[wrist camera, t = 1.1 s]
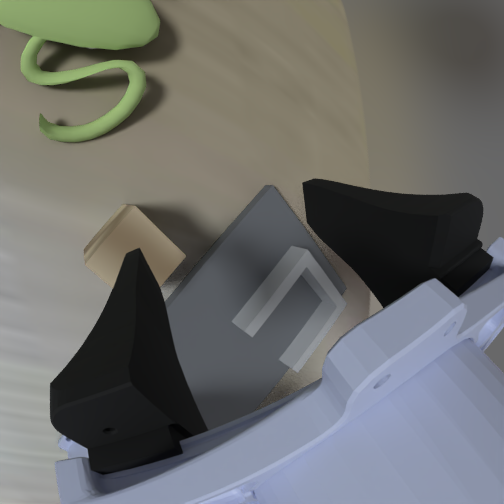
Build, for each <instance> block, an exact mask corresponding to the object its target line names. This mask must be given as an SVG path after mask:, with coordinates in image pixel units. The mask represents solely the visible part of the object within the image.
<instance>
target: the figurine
mask: <svg viewBox="0 0 504 504" xmlns="http://www.w3.org/2000/svg"><path fill="white" fill-rule="evenodd" d="M0 24H1V25H3V26H5V27H7V28H10V29H14V30H17V31H20V32H23V33H26V34H29V35H32V38H31V39H30V40H29V41H28V43H27V45H26V47H25V49H24V51H23V53H22V55H21V72H22V73H23V74H24V76H25V77H26V79H27V80H28V81H29V82H33V83H36V84H39V85H57V84H64V83H68V82H72V81H75V80H79V79H81V78H84V77H86V76H89V75H92V74H94V73H97V72H100V71H103V70H106V69H111V68H120V69H122V70H123V71H125V72H127V73H128V77H129V81H130V83H129V86H128V89H127V91H126V94H125V95H124V97H123V98H122V99H121V101H120V102H119V104H118V105H117V106H116V107H114V108H113V109H112V110H111V111H110V112H108V113H107V114H105V115H104V116H102V117H101V118H99V119H97V120H95V121H93V122H90V123H88V124H86V125H79V126H73V127H70V126H58V125H56V124H53V123H50V122H48V121H47V120H46V119H45V118H44V117H43V116H42V114H41V113H40V118H39V126H40V131H41V132H42V133H43V134H44V135H45V136H47V137H48V138H49V139H51V140H56V141H60V142H80V141H85V140H90V139H94V138H96V137H98V136H101V135H103V134H105V133H107V132H109V131H110V130H112V129H113V128H115V127H116V126H118V125H119V124H120V123H121V122H122V121H124V120H125V119H126V118H127V117H128V116H130V115H131V113H132V112H133V110H134V109H135V108H136V106H137V105H138V104H139V102H140V101H141V98H142V96H143V93H144V91H145V88H146V77H145V72H144V71H143V70H142V69H141V68H140V67H139V66H138V65H137V64H135V63H134V62H133V61H128V60H111V61H106V62H102V63H98V64H94V65H91V66H87V67H83V68H79V69H75V70H69V71H62V72H48V71H42V70H41V68H40V67H39V66H38V65H37V64H36V63H37V54H38V52H39V51H40V49H41V47H42V46H43V44H44V43H45V42H46V41H47V40H51V41H56V42H60V43H65V44H70V45H74V46H78V47H86V48H89V49H96V48H102V49H112V50H119V49H126V48H134V47H143V46H144V45H146V44H147V43H149V42H150V41H152V40H153V39H155V38H156V37H158V33H159V27H160V19H159V17H158V15H157V13H156V11H155V9H154V7H153V5H152V3H151V1H150V0H0Z"/></svg>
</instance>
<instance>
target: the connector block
mask: <svg viewBox="0 0 504 504" xmlns="http://www.w3.org/2000/svg"><path fill="white" fill-rule="evenodd" d="M139 247H140V249H141V251H142V253H143V255H144V257H145V259H146V261H147V263H148V265H149V267H150V269H151V271H152V273H153V274H154V276H155V278H156V280H157V282H158V284H159V286H160V287H161V286H162V284H163V283H164V282H165V281H166V280H167V278H168V277H169V276H170V275H171V274H172V272H173V271H174V270H175V269H176V268H177V267H178V265H179V264H180V263H181V262H182V261H183V259H184V258H185V257H186V255H185V254H184V253H183V252H182V251H181V250H180V249H179V248H178V247H177V246H176V245H175V244H174V243H173V242H172V241H171V240H170V239H168V238H167V237H166V236H165V235H164V234H163V233H162V232H161V231H160V230H159V229H158V228H157V227H156V226H155V225H154V224H153V223H152V222H151V221H150V220H149V219H148V218H147V217H146V216H145V215H144V214H143V213H142V212H141V211H140V210H139V209H138V208H137V207H136V206H133V205H125V204H123V205H122V206H121V207H120V208H119V209H118V210H117V211H116V212H115V213H114V214H113V216H112V217H111V218H110V219H109V220H108V221H107V222H106V224H105V225H104V226H103V227H102V228H101V229H100V231H99V232H98V233H97V234H96V235H95V236H94V238H93V239H92V240H91V241H90V242H89V244H88V245H87V246H86V247H85V249H84V259H85V265H86V266H87V267H88V268H89V269H90V270H91V271H93V272H94V273H95V274H96V275H97V276H98V277H100V278H101V279H102V280H103V281H104V282H105V283H107V284H108V285H109V286H110V287H111V288H113V287H114V284H115V282H116V279H117V276H118V274H119V271H120V268H121V265H122V262H123V260H124V257H125V255H126V253H128V252H130V251H133V250H135V249H137V248H139Z"/></svg>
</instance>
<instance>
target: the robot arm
mask: <svg viewBox="0 0 504 504" xmlns="http://www.w3.org/2000/svg"><path fill="white" fill-rule="evenodd" d="M302 184H303V192H304V201H305V209H306V218H307V223H308V224H309V226H310V227H311V228H312V229H313V231H314V232H315V233H316V234H317V235H318V237H319V238H320V239H321V240H322V241H323V242H324V243H325V244H327V245H328V246H329V247H330V248H331V249H332V250H333V251H334V252H335V253H336V254H337V255H338V256H340V257H341V258H342V259H343V260H344V261H345V262H346V263H347V264H348V265H349V266H350V267H351V268H352V269H353V270H354V271H355V272H356V273H357V274H358V275H359V276H360V278H361V279H362V280H363V281H364V282H365V284H366V285H367V286H368V287H369V289H370V290H371V291H372V293H373V294H374V295H375V297H376V298H377V299H378V301H379V302H380V303H381V305H382V306H383V309H382V310H380V311H379V312H377V313H375V314H374V315H372V316H370V317H369V318H367V319H366V320H364V321H362V322H361V323H359V324H357V325H356V326H354V327H353V328H352V329H351V330H349V331H348V332H347V333H345V334H344V335H343V336H341V337H340V338H339V339H338V341H337V342H336V343H335V344H334V345H333V347H332V348H331V349H330V350H329V351H328V353H327V356H326V359H325V361H324V364H323V368H322V378H320V379H319V380H317V381H315V382H313V383H311V384H309V385H307V386H306V387H304V388H302V389H300V390H298V391H296V392H294V393H292V394H290V395H288V396H286V397H284V398H282V399H280V400H278V401H276V402H274V403H272V404H270V405H267V406H265V407H263V408H261V409H259V410H257V411H254V412H252V413H250V414H248V415H245V416H243V417H241V418H238V419H236V420H234V421H231V422H229V423H227V424H224V425H222V426H219V427H217V428H214V429H211V430H208V428H207V426H206V424H205V422H204V420H203V418H202V416H201V414H200V411H199V409H198V407H197V405H196V403H195V400H194V398H193V396H192V393H191V391H190V388H189V386H188V383H187V381H186V378H185V376H184V373H183V371H182V368H181V365H180V363H179V360H178V357H177V353H176V350H175V346H174V341H173V337H172V332H171V328H170V323H169V318H168V314H167V309H166V305H165V301H164V298H163V295H162V292H161V289H160V286H159V284H158V282H157V280H156V278H155V276H154V274H153V273H152V271H151V269H150V267H149V265H148V263H147V261H146V259H145V257H144V255H143V253H142V251H141V249H140V247H139V248H137V249H135V250H133V251H130V252H128V253H126V255H125V257H124V260H123V262H122V265H121V268H120V271H119V274H118V276H117V279H116V282H115V284H114V287H113V289H112V292H111V294H110V296H109V299H108V301H107V303H106V305H105V308H104V310H103V312H102V313H101V315H100V317H99V319H98V321H97V323H96V324H95V326H94V328H93V329H92V331H91V332H90V334H89V336H88V337H87V339H86V340H85V342H84V343H83V345H82V346H81V348H80V349H79V350H78V352H77V353H76V354H75V356H74V357H73V358H72V360H71V361H70V362H69V363H68V364H67V366H66V367H65V368H64V369H63V370H62V371H61V372H60V374H59V375H58V376H57V377H56V378H55V379H54V380H53V381H52V382H51V383H50V419H51V423H52V425H53V426H54V428H55V429H56V430H57V431H59V432H60V433H61V434H62V437H61V438H60V439H59V441H58V446H59V447H60V448H61V449H63V450H65V451H67V452H68V459H66V460H60V461H56V462H55V470H56V477H57V484H58V491H59V496H60V502H61V504H504V373H503V372H502V371H501V370H500V369H499V368H498V367H497V366H496V365H495V364H494V363H493V362H492V361H491V359H490V358H489V357H488V356H487V355H486V354H484V351H485V350H486V348H487V347H488V346H489V345H490V344H491V342H492V341H493V340H494V339H495V337H496V336H497V335H498V334H499V332H500V331H501V330H502V329H503V327H504V239H503V238H502V237H499V238H498V239H497V240H496V241H494V242H493V243H492V244H491V245H490V246H489V247H488V249H487V251H484V250H483V249H482V248H481V247H482V242H481V241H479V240H478V239H477V237H478V233H479V230H480V226H481V222H482V217H483V205H482V202H481V200H480V199H478V198H477V197H475V196H473V195H472V194H469V193H459V194H447V195H413V194H400V193H392V192H384V191H378V190H372V189H367V188H362V187H357V186H353V185H348V184H343V183H339V182H334V181H329V180H323V179H312V180H309V181H306V182H303V183H302ZM68 438H69V439H68Z"/></svg>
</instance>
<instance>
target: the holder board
mask: <svg viewBox="0 0 504 504" xmlns="http://www.w3.org/2000/svg"><path fill="white" fill-rule="evenodd" d="M345 290H346V286H345V285H344V284H343V282H342V281H341V279H340V278H339V276H338V275H337V273H336V272H335V270H334V269H333V267H332V266H331V265H330V263H329V262H328V260H327V259H326V257H325V256H324V255H323V253H322V252H321V250H320V249H319V247H318V246H317V245H316V243H315V242H314V240H313V239H312V238H311V236H310V235H309V233H308V232H307V231H306V229H305V228H304V226H303V225H302V224H301V222H300V221H299V220H298V218H297V217H296V215H295V214H294V213H293V211H292V210H291V209H290V207H289V206H288V205H287V203H286V202H285V201H284V199H283V198H282V197H281V195H280V194H279V193H278V191H277V190H276V189H275V187H274V186H273V185H265V186H264V188H263V189H262V190H261V191H260V192H259V193H258V194H257V195H256V196H255V198H254V199H253V200H252V201H251V202H250V203H249V204H248V205H247V207H246V208H245V209H244V210H243V211H242V212H241V213H240V215H239V216H238V217H237V218H236V219H235V220H234V221H233V223H232V224H231V225H230V226H229V227H228V228H227V229H226V231H225V232H224V233H223V234H222V235H221V236H220V237H219V239H218V240H217V241H216V242H215V243H214V244H213V246H212V247H211V248H210V249H209V250H208V251H207V253H206V254H205V255H204V256H203V257H202V258H201V260H200V261H199V262H198V263H197V264H196V266H195V267H194V268H193V269H192V270H191V271H190V273H189V274H188V275H187V276H186V277H185V279H184V280H183V281H182V282H181V283H180V285H179V286H178V287H177V288H176V289H175V291H174V292H173V293H172V294H171V295H170V297H169V298H168V299H167V300H166V301H165V305H166V309H167V314H168V318H169V323H170V328H171V332H172V337H173V341H174V346H175V350H176V353H177V357H178V360H179V363H180V365H181V368H182V371H183V373H184V376H185V378H186V381H187V383H188V386H189V388H190V391H191V393H192V396H193V398H194V400H195V403H196V405H197V407H198V409H199V411H200V414H201V416H202V418H203V420H204V422H205V424H206V426H207V428H208V430H211V429H214V428H217V427H219V426H222V425H224V424H227V423H229V422H231V421H234V420H236V419H238V418H241V417H243V416H245V415H248V414H250V413H252V412H254V411H255V410H256V408H257V407H258V406H259V405H260V404H261V402H262V401H263V400H264V399H265V398H266V396H267V395H268V394H269V393H270V392H271V390H272V389H273V388H274V387H275V385H276V384H277V383H278V382H279V380H280V379H281V378H282V377H283V375H284V374H285V373H286V372H287V370H288V369H289V368H291V369H293V370H294V371H296V372H297V373H298V372H299V370H300V369H301V368H302V366H303V365H304V364H305V362H306V361H307V360H308V358H309V357H310V356H311V354H312V353H313V352H314V350H315V349H316V348H317V346H318V345H319V344H320V342H321V341H322V339H323V338H324V337H325V335H326V334H327V332H328V331H329V330H330V328H331V327H332V325H333V324H334V322H335V321H336V319H337V318H338V317H339V315H340V314H341V312H342V311H343V309H344V308H345V306H346V305H347V303H346V302H345V300H344V299H343V297H342V294H343V293H344V291H345Z"/></svg>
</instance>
